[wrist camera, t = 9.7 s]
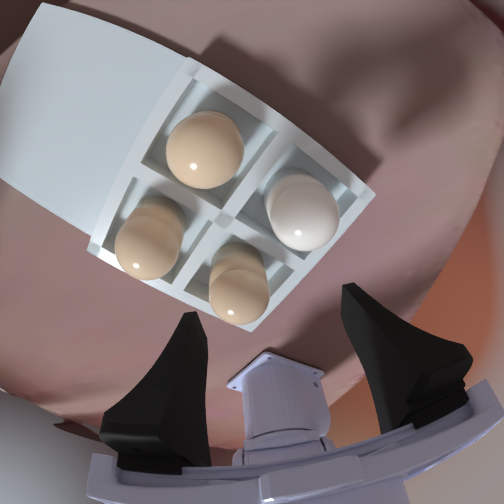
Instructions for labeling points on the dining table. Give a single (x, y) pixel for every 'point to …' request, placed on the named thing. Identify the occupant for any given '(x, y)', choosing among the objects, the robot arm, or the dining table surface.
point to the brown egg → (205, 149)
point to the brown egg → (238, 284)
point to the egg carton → (150, 149)
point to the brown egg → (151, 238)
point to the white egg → (300, 209)
